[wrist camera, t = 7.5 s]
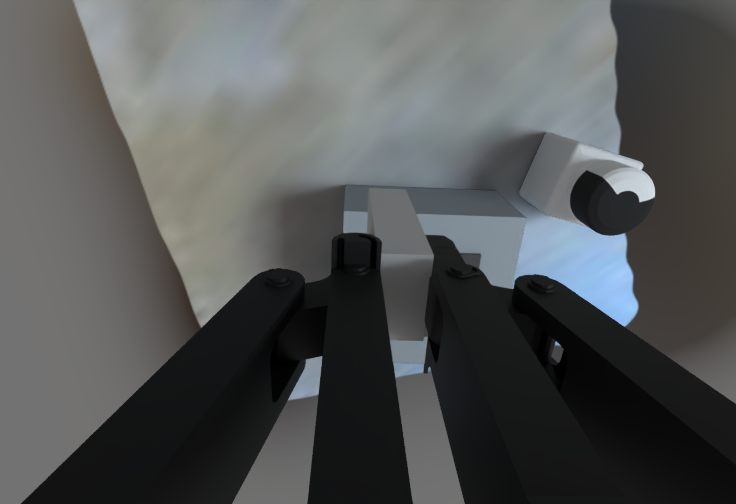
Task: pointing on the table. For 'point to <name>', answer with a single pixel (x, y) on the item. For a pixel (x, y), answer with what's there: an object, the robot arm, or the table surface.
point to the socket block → (453, 236)
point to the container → (588, 186)
